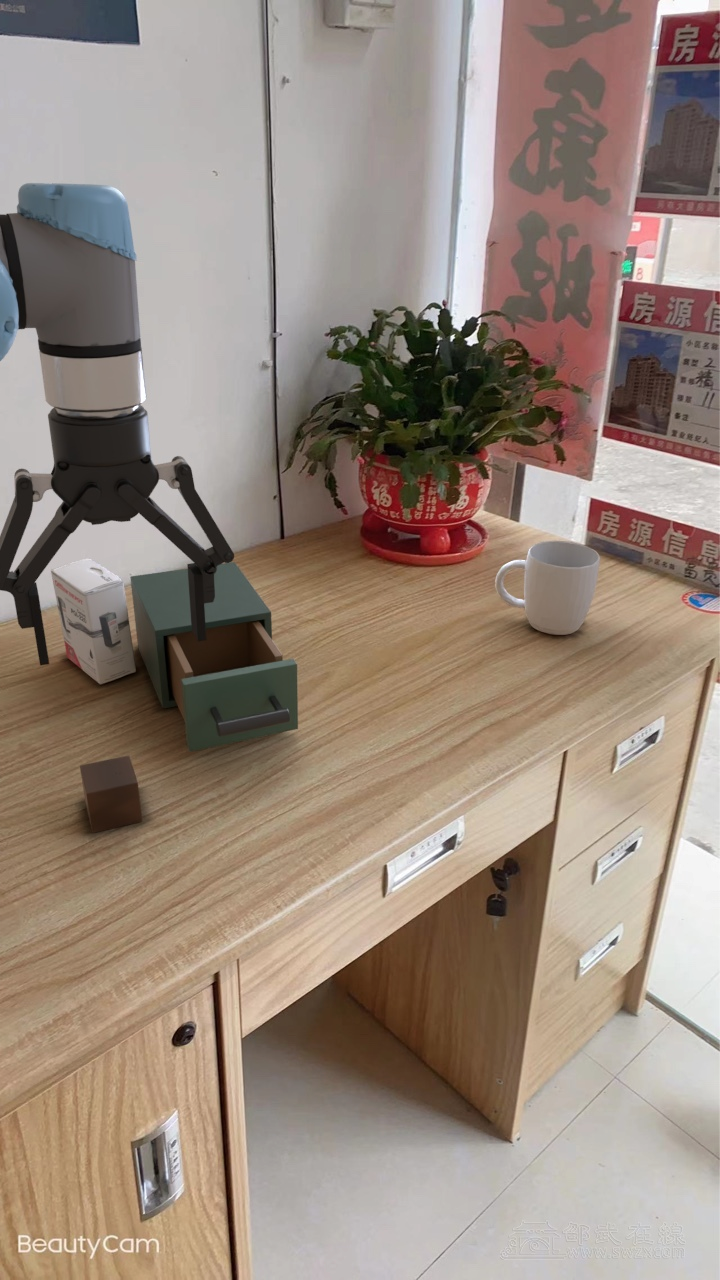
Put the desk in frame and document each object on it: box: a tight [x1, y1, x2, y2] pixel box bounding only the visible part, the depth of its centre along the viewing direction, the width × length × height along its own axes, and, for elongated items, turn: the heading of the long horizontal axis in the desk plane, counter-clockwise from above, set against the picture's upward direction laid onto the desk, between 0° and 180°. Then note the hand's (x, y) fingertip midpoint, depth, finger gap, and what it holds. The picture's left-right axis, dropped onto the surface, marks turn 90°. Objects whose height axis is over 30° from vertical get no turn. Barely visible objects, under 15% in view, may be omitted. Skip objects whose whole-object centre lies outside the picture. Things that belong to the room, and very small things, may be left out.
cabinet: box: [129, 561, 273, 709], centre depth 102 cm, size 15×13×10 cm
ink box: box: [50, 558, 137, 685], centre depth 101 cm, size 9×5×12 cm, turn 43°
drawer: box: [163, 620, 299, 753], centre depth 91 cm, size 18×11×8 cm, turn 23°
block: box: [79, 755, 143, 834], centre depth 79 cm, size 4×4×4 cm
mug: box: [494, 540, 601, 636], centre depth 114 cm, size 13×9×10 cm
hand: (123, 646), depth 79 cm, fingers open, 13 cm apart
